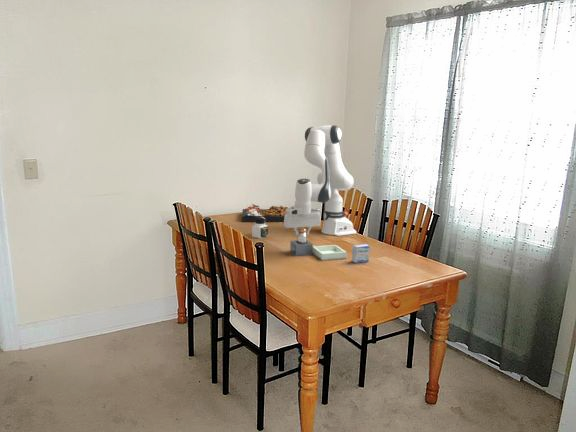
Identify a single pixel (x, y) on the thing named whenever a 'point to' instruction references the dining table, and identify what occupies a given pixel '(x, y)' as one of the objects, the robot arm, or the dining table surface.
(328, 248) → the tray
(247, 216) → the food platter
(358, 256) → the medicine box
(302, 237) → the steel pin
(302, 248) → the block
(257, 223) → the medicine bottle
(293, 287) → the dining table surface
